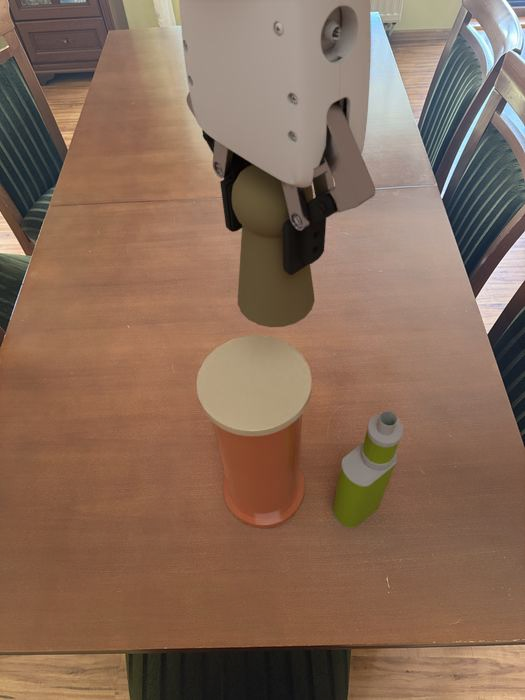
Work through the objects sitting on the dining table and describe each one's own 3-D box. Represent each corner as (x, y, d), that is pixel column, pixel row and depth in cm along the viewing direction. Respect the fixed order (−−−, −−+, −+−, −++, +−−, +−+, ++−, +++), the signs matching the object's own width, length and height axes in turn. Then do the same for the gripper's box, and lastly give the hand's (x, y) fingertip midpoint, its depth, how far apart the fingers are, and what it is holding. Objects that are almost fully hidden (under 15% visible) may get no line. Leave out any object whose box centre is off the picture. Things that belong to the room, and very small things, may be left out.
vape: (385, 502, 61) (419, 420, 46) (348, 533, 59) (371, 458, 43) (363, 479, 63) (389, 392, 47) (327, 508, 61) (341, 428, 45)
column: (314, 518, 61) (326, 416, 42) (231, 537, 60) (205, 442, 41) (293, 443, 67) (295, 325, 48) (218, 460, 66) (189, 346, 47)
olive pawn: (295, 337, 37) (296, 214, 28) (223, 312, 39) (203, 189, 30) (326, 283, 40) (336, 157, 32) (258, 262, 42) (250, 138, 34)
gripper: (498, -88, 18) (406, 278, 33) (207, -143, 26) (237, 169, 41) (354, -34, 15) (323, 341, 30) (79, -113, 24) (159, 210, 38)
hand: (273, 239), depth 35 cm, fingers closed on olive pawn, 5 cm apart
